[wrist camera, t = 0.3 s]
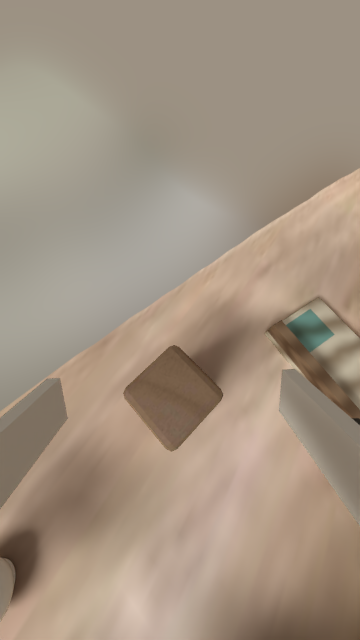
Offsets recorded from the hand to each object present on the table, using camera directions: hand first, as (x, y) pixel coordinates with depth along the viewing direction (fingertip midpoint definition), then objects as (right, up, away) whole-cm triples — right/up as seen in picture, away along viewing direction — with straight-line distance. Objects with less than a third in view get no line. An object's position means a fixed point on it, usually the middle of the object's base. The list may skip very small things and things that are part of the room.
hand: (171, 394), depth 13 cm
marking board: (+34, -5, +35) cm, 49 cm away
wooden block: (0, -12, +34) cm, 36 cm away
